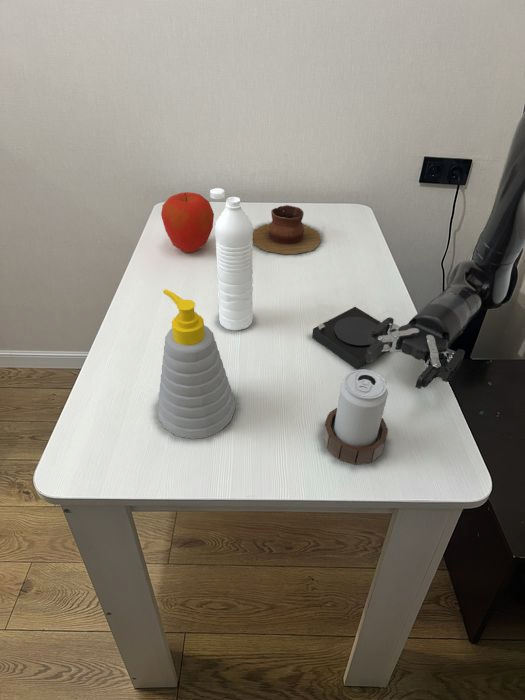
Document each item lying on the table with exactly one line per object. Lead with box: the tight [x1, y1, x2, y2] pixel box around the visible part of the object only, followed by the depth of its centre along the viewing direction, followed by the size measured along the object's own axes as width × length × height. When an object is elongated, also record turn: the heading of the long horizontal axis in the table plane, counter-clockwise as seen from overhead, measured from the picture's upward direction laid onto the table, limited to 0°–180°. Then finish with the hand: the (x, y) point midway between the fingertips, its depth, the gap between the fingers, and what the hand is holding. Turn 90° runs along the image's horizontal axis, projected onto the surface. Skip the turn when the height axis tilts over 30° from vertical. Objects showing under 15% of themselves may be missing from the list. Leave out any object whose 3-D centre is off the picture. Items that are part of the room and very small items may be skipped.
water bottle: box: [209, 187, 254, 331], centre depth 89 cm, size 9×6×25 cm
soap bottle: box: [157, 288, 237, 440], centre depth 72 cm, size 12×12×20 cm
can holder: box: [322, 407, 389, 465], centre depth 73 cm, size 9×9×3 cm
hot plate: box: [311, 306, 399, 370], centre depth 91 cm, size 12×12×3 cm
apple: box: [160, 191, 215, 254], centre depth 114 cm, size 12×12×14 cm
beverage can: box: [332, 368, 389, 447], centre depth 70 cm, size 6×6×12 cm
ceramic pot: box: [252, 204, 322, 255], centre depth 121 cm, size 18×18×7 cm
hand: (392, 370), depth 74 cm, fingers open, 8 cm apart
